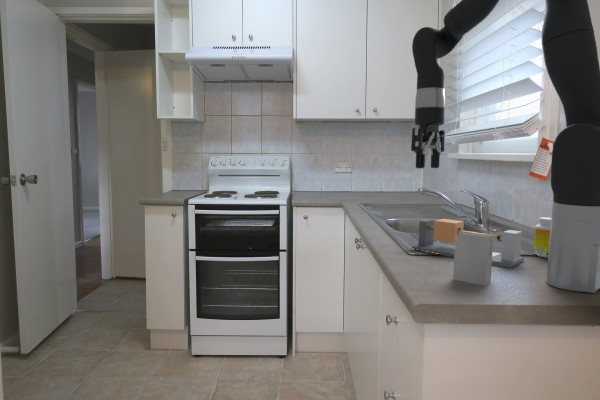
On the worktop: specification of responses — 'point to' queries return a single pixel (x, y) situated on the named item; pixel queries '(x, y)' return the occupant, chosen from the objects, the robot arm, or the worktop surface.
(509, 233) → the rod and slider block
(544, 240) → the supplement bottle
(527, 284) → the worktop surface
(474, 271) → the grey tapered slab
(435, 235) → the sleeve
